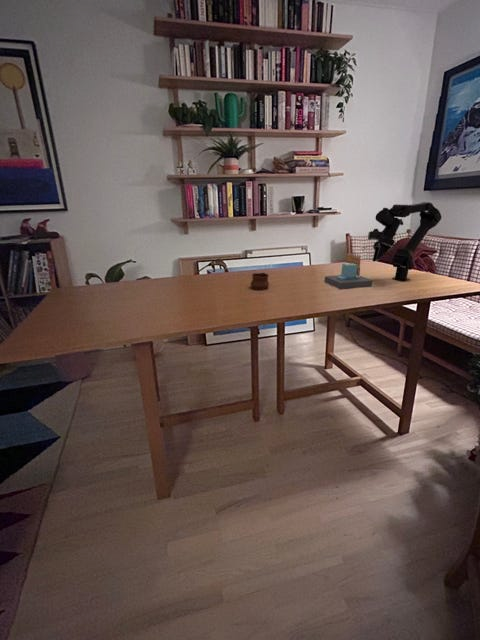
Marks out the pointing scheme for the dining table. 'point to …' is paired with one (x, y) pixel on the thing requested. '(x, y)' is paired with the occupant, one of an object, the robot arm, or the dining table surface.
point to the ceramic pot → (260, 281)
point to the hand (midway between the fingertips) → (375, 260)
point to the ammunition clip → (354, 260)
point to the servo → (349, 272)
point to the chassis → (348, 282)
